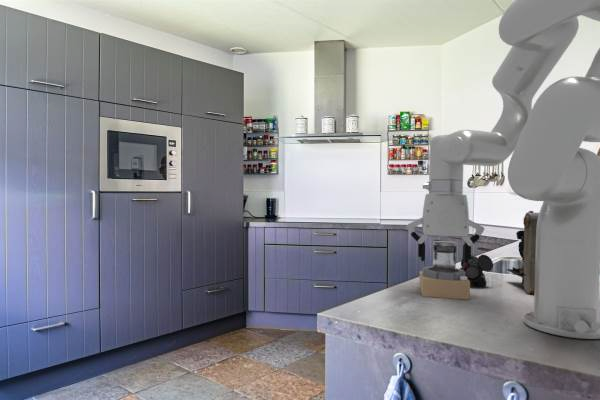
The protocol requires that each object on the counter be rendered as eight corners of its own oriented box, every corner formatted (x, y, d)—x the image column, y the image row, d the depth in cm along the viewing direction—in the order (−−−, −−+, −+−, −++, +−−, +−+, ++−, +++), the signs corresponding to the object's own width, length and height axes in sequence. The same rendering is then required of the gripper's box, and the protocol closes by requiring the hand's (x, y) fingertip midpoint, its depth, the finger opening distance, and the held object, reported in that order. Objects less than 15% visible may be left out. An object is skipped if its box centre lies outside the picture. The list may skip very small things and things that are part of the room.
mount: (469, 299, 92) (470, 274, 92) (422, 296, 94) (423, 272, 94) (461, 289, 102) (462, 267, 102) (419, 287, 104) (419, 265, 104)
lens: (457, 278, 95) (458, 243, 95) (433, 277, 96) (434, 242, 96) (453, 274, 100) (454, 241, 100) (431, 273, 101) (432, 240, 101)
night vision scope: (469, 284, 121) (499, 264, 118) (469, 299, 104) (504, 277, 101) (451, 262, 122) (480, 242, 119) (448, 273, 106) (482, 250, 103)
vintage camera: (541, 285, 112) (540, 211, 113) (572, 296, 97) (572, 211, 98) (503, 284, 113) (503, 211, 114) (529, 295, 98) (528, 210, 99)
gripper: (408, 187, 96) (406, 261, 96) (489, 188, 93) (486, 266, 93) (406, 188, 103) (405, 257, 104) (481, 189, 100) (479, 260, 100)
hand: (443, 261), depth 98 cm, fingers open, 9 cm apart
